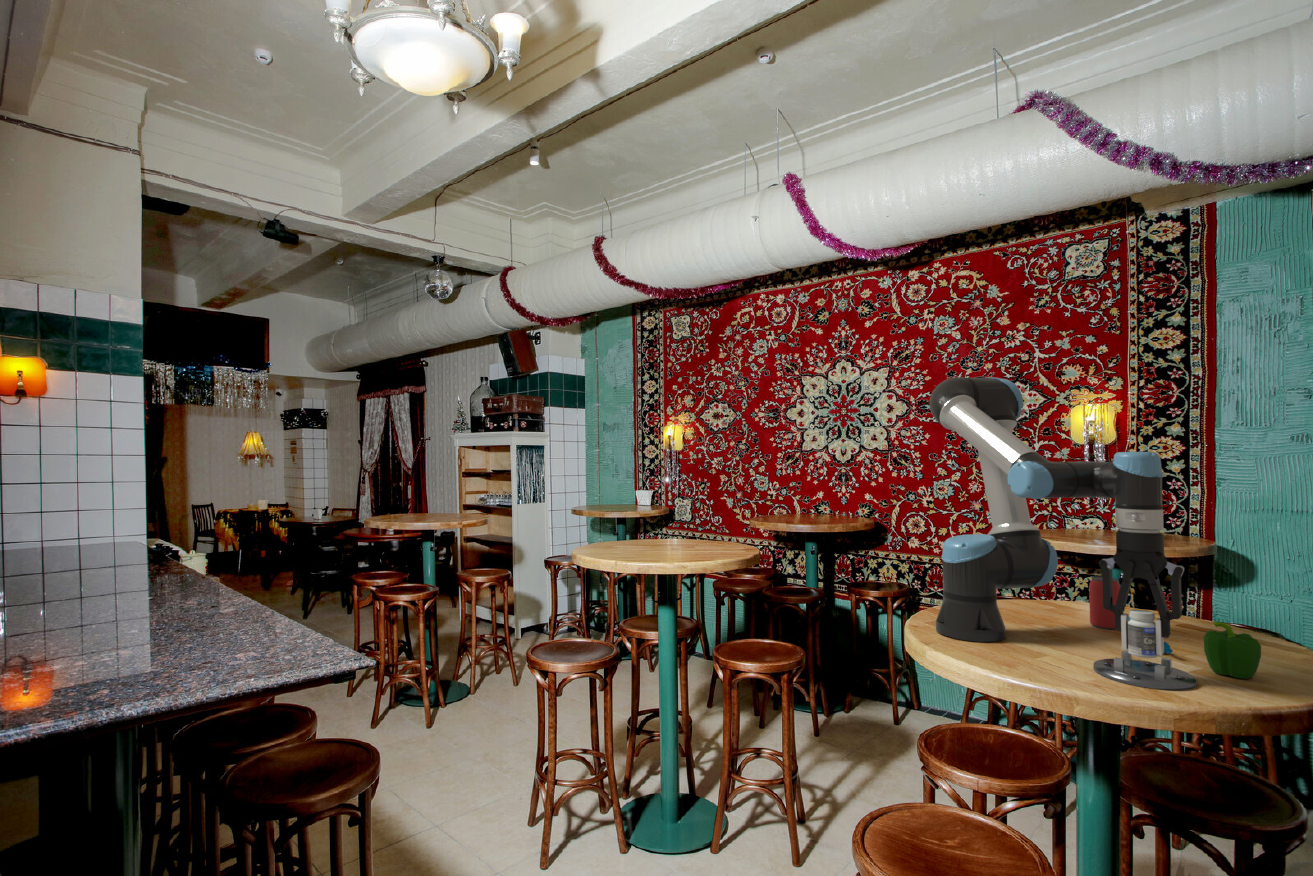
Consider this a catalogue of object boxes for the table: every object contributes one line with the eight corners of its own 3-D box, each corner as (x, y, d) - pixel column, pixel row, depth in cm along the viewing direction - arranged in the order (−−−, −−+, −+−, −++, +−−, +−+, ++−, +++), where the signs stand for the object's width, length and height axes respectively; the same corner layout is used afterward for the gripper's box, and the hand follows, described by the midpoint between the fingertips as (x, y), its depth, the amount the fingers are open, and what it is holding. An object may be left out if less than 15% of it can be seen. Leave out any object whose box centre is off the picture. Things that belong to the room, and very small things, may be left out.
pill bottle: (1148, 659, 123) (1147, 615, 123) (1122, 653, 127) (1121, 609, 128) (1163, 656, 125) (1162, 612, 125) (1137, 650, 129) (1136, 607, 130)
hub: (1083, 675, 126) (1083, 658, 126) (1104, 657, 137) (1104, 642, 138) (1189, 697, 115) (1188, 678, 115) (1202, 675, 126) (1201, 659, 126)
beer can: (1084, 622, 166) (1083, 575, 166) (1112, 623, 165) (1111, 576, 166) (1098, 629, 160) (1097, 580, 160) (1127, 630, 159) (1126, 581, 159)
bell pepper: (1268, 677, 125) (1266, 624, 125) (1254, 685, 121) (1252, 631, 121) (1213, 665, 132) (1212, 616, 132) (1197, 672, 128) (1196, 621, 128)
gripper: (1081, 528, 131) (1084, 645, 130) (1195, 535, 118) (1199, 665, 117) (1090, 525, 136) (1093, 638, 135) (1201, 532, 123) (1204, 656, 122)
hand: (1142, 650), depth 126 cm, fingers closed on pill bottle, 5 cm apart
